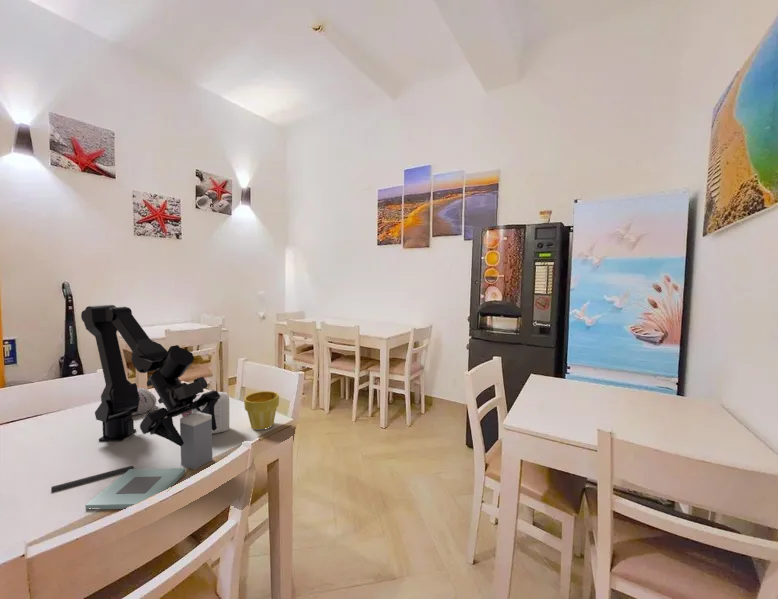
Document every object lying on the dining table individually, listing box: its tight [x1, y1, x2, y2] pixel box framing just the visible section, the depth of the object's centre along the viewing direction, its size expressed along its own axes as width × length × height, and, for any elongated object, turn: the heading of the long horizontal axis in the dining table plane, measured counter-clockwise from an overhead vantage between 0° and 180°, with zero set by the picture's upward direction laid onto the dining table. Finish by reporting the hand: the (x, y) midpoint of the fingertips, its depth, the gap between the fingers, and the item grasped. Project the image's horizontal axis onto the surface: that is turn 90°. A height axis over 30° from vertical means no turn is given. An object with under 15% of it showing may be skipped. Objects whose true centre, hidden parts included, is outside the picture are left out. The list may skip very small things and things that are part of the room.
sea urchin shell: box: [132, 387, 157, 417], centre depth 119 cm, size 13×14×8 cm
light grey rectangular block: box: [179, 412, 213, 470], centre depth 87 cm, size 5×5×12 cm
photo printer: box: [191, 391, 230, 435], centre depth 104 cm, size 10×4×12 cm, turn 123°
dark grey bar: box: [50, 465, 135, 493], centre depth 80 cm, size 15×1×1 cm, turn 128°
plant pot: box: [243, 390, 280, 430], centre depth 109 cm, size 10×10×10 cm
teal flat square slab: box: [85, 467, 186, 510], centre depth 76 cm, size 13×13×1 cm
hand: (199, 436), depth 87 cm, fingers open, 9 cm apart
